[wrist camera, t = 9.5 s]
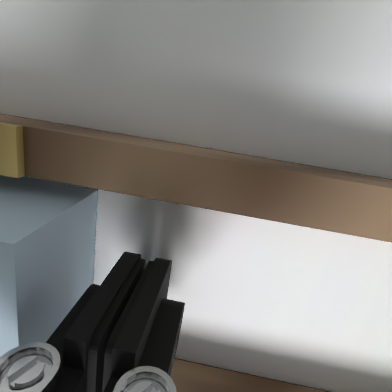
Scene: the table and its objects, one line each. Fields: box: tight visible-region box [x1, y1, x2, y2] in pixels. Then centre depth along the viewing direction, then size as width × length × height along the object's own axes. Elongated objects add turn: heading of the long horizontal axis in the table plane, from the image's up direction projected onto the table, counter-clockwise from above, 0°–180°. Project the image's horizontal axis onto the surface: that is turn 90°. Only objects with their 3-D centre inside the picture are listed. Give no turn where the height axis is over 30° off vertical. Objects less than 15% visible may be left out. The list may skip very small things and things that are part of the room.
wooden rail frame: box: [0, 114, 392, 392], centre depth 10 cm, size 30×10×2 cm, turn 82°
